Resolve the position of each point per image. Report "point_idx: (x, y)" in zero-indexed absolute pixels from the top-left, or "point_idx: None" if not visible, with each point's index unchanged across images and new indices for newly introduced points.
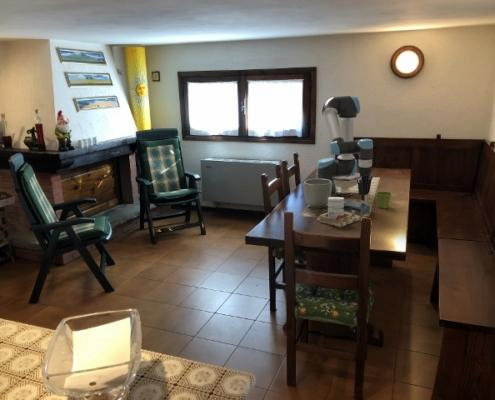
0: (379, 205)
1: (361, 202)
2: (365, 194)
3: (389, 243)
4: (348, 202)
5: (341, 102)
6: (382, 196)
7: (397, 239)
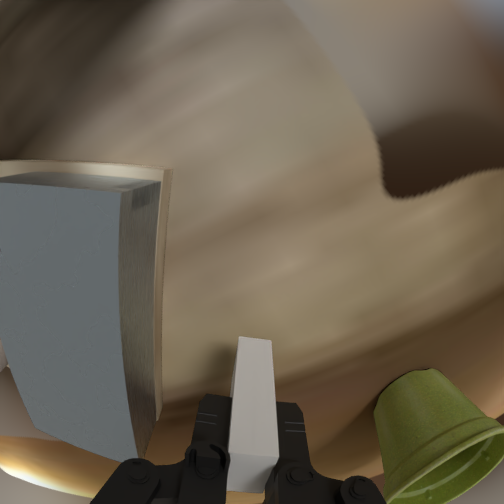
0: (383, 409)
1: (237, 361)
2: (265, 485)
3: (5, 461)
4: (35, 264)
5: None
6: (384, 499)
7: (36, 479)
